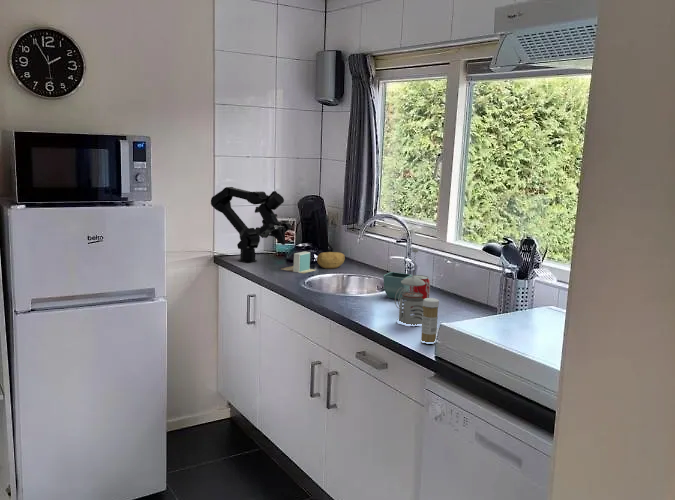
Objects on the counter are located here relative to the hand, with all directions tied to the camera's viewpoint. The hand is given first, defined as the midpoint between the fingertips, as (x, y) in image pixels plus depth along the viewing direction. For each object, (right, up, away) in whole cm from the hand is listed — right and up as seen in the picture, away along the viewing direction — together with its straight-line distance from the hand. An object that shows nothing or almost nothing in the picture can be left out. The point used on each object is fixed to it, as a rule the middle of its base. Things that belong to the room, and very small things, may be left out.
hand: (284, 244), depth 282 cm
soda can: (+53, -24, -58) cm, 82 cm away
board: (+7, -12, -3) cm, 14 cm away
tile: (+8, -12, -5) cm, 15 cm away
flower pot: (+47, -21, -42) cm, 66 cm away
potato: (+21, -11, +6) cm, 24 cm away
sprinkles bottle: (+51, -30, -95) cm, 112 cm away
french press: (+47, -27, -75) cm, 93 cm away
